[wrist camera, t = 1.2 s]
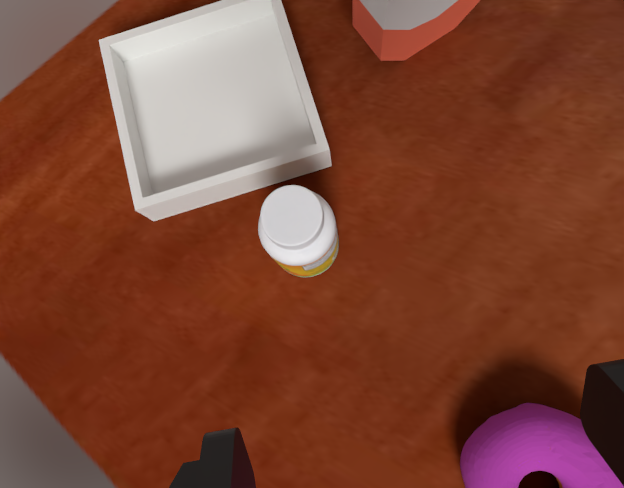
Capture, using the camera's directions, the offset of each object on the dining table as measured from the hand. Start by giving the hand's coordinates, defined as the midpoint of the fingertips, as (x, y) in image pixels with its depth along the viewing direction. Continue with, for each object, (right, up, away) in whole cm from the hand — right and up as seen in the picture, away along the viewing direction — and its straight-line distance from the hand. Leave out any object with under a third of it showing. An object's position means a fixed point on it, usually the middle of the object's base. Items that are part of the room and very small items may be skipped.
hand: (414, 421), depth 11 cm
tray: (-11, +16, +31) cm, 36 cm away
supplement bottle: (-3, +4, +28) cm, 28 cm away
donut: (+14, -13, +23) cm, 30 cm away
